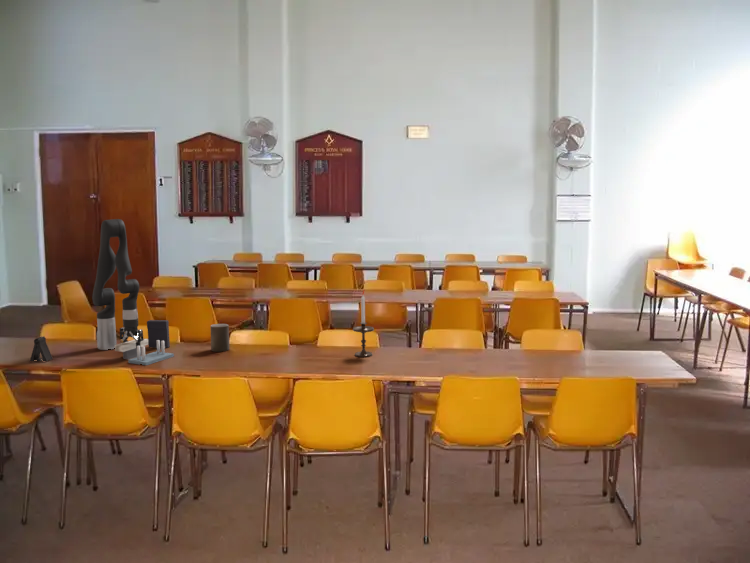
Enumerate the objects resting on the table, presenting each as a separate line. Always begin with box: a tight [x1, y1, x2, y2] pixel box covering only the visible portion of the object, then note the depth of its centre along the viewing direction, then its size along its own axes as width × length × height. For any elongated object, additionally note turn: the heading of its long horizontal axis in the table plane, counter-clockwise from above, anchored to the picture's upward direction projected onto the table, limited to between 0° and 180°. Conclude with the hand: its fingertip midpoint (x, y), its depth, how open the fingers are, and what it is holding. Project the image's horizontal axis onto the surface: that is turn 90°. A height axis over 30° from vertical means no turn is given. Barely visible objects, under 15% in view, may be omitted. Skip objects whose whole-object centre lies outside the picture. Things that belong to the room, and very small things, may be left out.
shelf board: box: [114, 338, 149, 353], centre depth 380 cm, size 6×18×3 cm, turn 154°
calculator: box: [146, 319, 171, 349], centre depth 402 cm, size 11×4×15 cm, turn 84°
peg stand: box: [127, 340, 175, 366], centre depth 375 cm, size 12×20×8 cm, turn 154°
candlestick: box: [352, 289, 375, 358], centre depth 379 cm, size 11×11×35 cm
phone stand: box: [29, 335, 53, 362], centre depth 375 cm, size 9×6×12 cm, turn 85°
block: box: [122, 347, 142, 360], centre depth 381 cm, size 3×10×5 cm, turn 154°
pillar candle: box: [210, 323, 230, 353], centre depth 395 cm, size 10×10×15 cm
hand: (132, 348), depth 381 cm, fingers open, 8 cm apart
